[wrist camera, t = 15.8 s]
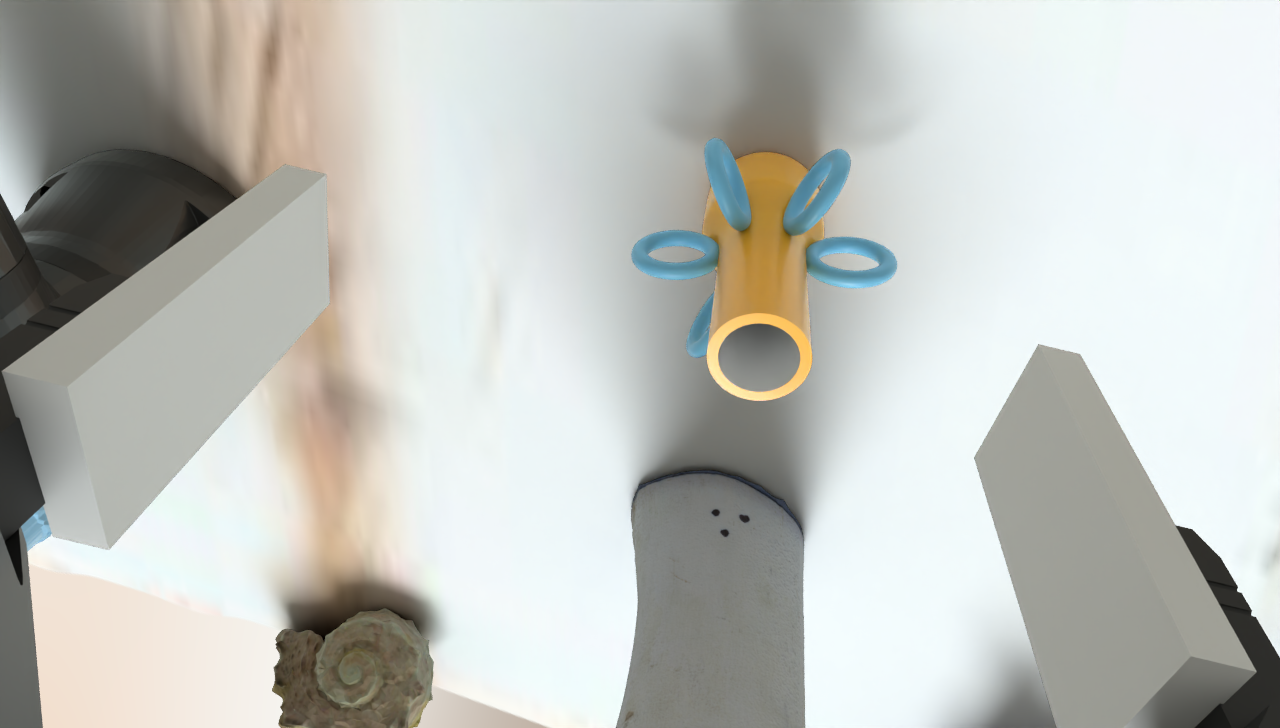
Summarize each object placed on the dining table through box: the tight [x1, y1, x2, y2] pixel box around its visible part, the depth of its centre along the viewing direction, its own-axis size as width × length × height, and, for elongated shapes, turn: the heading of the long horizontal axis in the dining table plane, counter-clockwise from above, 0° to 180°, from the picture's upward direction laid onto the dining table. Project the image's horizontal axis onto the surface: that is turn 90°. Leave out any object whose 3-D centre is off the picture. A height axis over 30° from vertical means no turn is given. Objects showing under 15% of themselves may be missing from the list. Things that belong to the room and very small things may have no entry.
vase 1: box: [631, 138, 897, 401], centre depth 38 cm, size 12×10×15 cm
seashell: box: [272, 608, 434, 728], centre depth 67 cm, size 11×14×10 cm
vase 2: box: [616, 470, 805, 728], centre depth 47 cm, size 13×14×28 cm
